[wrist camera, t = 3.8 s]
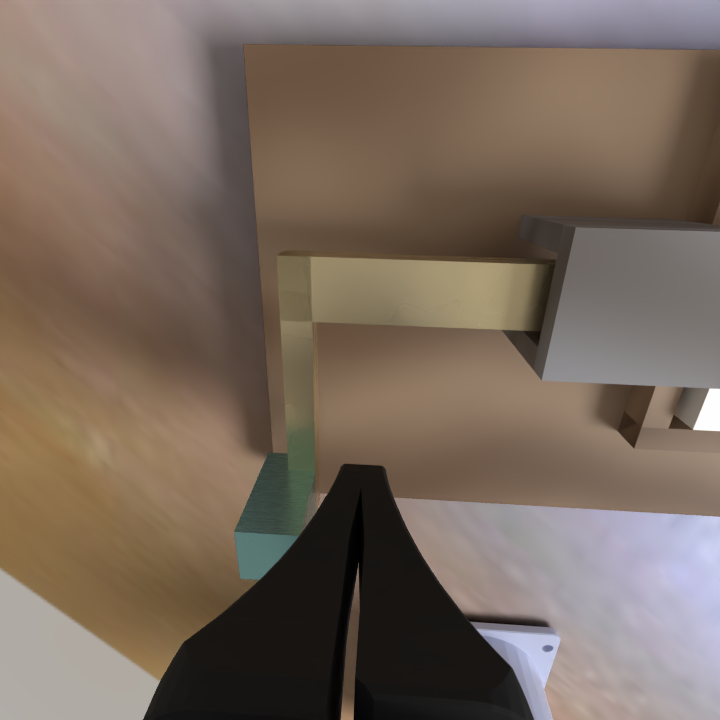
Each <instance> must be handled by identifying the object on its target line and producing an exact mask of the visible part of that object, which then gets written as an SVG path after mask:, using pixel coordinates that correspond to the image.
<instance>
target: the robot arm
mask: <svg viewBox="0 0 720 720" xmlns="http://www.w3.org/2000/svg"><path fill="white" fill-rule="evenodd" d="M358 563H359V594H360V616H359V631H358V645H357V660H356V674H355V699H354V720H553V717H552V714H551V711H550V708H549V704H548V701H547V698H546V695H545V692H544V688H545V685H546V682H547V679H548V676H549V673H550V670H551V667H552V664H553V661H554V658H555V655H556V652H557V649H558V646H559V643H560V637H559V635H558V632H557V631H556V630H555V629H553V628H550V627H538V626H524V625H510V624H496V623H482V622H470V621H469V620H468V619H467V618H466V617H465V616H464V614H463V613H462V612H461V610H460V609H459V608H458V606H457V605H456V604H455V603H454V601H453V600H452V599H451V597H450V596H449V595H448V593H447V592H446V591H445V590H444V588H443V587H442V585H441V584H440V583H439V581H438V580H437V578H436V577H435V575H434V574H433V572H432V571H431V569H430V568H429V566H428V564H427V563H426V561H425V560H424V558H423V556H422V555H421V553H420V551H419V550H418V548H417V546H416V544H415V543H414V541H413V539H412V537H411V535H410V533H409V531H408V529H407V527H406V525H405V523H404V521H403V519H402V516H401V514H400V512H399V509H398V507H397V505H396V502H395V500H394V497H393V494H392V491H391V489H390V485H389V482H388V478H387V474H386V469H385V468H384V467H383V466H380V465H363V464H343V465H342V466H341V467H340V470H339V473H338V475H337V477H336V479H335V481H334V483H333V485H332V487H331V489H330V491H329V492H328V494H327V496H326V497H325V499H324V501H323V502H322V504H321V505H320V507H319V509H318V510H317V512H316V513H315V515H314V516H313V518H312V519H311V520H310V522H309V523H308V525H307V526H306V527H305V529H304V530H303V532H302V533H301V534H300V535H299V537H298V538H297V539H296V540H295V542H294V543H293V544H292V545H291V547H290V548H289V549H288V550H287V551H286V552H285V554H284V555H283V556H282V557H281V558H280V559H279V560H278V561H277V562H276V563H275V564H274V566H273V567H272V568H271V569H270V570H269V571H268V572H267V573H266V574H265V575H264V576H263V577H262V578H261V579H260V580H259V581H258V582H257V583H256V584H255V585H254V586H253V587H252V588H250V589H249V590H248V591H247V592H246V593H245V594H244V595H242V596H241V597H240V598H239V599H238V600H237V601H236V602H235V603H233V604H232V605H231V606H230V607H229V608H228V609H227V610H225V611H224V612H223V613H222V614H220V615H219V616H218V617H217V618H215V619H214V620H213V621H211V622H210V623H209V624H207V625H206V626H205V627H203V628H202V629H201V630H199V631H198V632H197V633H195V634H194V635H193V636H192V637H190V638H189V639H187V640H186V641H185V642H184V643H183V644H182V646H181V647H180V649H179V650H178V652H177V653H176V655H175V657H174V658H173V660H172V662H171V663H170V665H169V667H168V669H167V670H166V672H165V674H164V675H163V677H162V679H161V681H160V683H159V685H158V687H157V689H156V691H155V694H154V696H153V698H152V701H151V703H150V705H149V707H148V710H147V712H146V714H145V717H144V719H143V720H341V707H342V694H343V681H344V668H345V655H346V642H347V634H348V625H349V619H350V613H351V606H352V600H353V594H354V588H355V582H356V575H357V569H358Z"/></svg>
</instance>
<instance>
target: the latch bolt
mask: <svg viewBox="0 0 720 720" xmlns="http://www.w3.org/2000/svg"><path fill="white" fill-rule="evenodd" d="M555 264H556V260H555V259H525V258H496V257H466V256H436V255H407V254H377V253H347V252H318V251H288V250H284V251H283V252H281V253H280V254H278V255H277V272H278V290H279V308H280V326H281V344H282V362H283V380H284V398H285V416H286V434H287V452H288V453H273V452H269V453H268V455H267V457H266V460H265V462H264V464H263V467H262V469H261V471H260V473H259V476H258V478H257V480H256V483H255V485H254V487H253V490H252V492H251V494H250V497H249V499H248V501H247V503H246V506H245V508H244V510H243V513H242V515H241V517H240V520H239V522H238V524H237V526H236V529H235V531H234V535H235V542H236V550H237V558H238V565H239V573H240V579H252V580H260V579H261V578H262V577H263V576H264V575H265V574H266V573H267V572H268V571H269V570H270V569H271V568H272V567H273V566H274V564H275V563H276V562H277V561H278V560H279V559H280V558H281V557H282V556H283V555H284V554H285V552H286V551H287V550H288V549H289V548H290V547H291V545H292V544H293V543H294V542H295V540H296V539H297V538H298V537H299V535H300V534H301V533H302V532H303V530H304V529H305V527H306V526H307V525H308V523H309V522H310V520H311V519H312V518H313V516H314V515H315V513H316V512H317V509H318V504H319V499H320V455H319V400H318V344H317V322H324V323H348V324H372V325H397V326H421V327H445V328H470V329H494V330H518V331H541V330H542V326H543V321H544V316H545V311H546V307H547V302H548V297H549V293H550V288H551V283H552V278H553V274H554V269H555Z"/></svg>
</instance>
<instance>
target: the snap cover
mask: <svg viewBox="0 0 720 720" xmlns="http://www.w3.org/2000/svg"><path fill="white" fill-rule="evenodd" d="M674 415H675V416H676V417H678V418H679V419H680V420H681V421H683V422H684V423H685V424H686V425H688V426H689V427H690V428H691V429H693V430H706V431H720V389H710V388H688V387H684V389H683V391H682V394H681V397H680V399H679V402H678V404H677V407H676V410H675V412H674Z"/></svg>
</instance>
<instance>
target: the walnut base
mask: <svg viewBox="0 0 720 720" xmlns="http://www.w3.org/2000/svg"><path fill="white" fill-rule="evenodd" d="M243 47H244V61H245V75H246V88H247V102H248V116H249V130H250V144H251V157H252V171H253V185H254V199H255V213H256V226H257V240H258V254H259V268H260V282H261V295H262V309H263V323H264V337H265V351H266V364H267V378H268V392H269V406H270V420H271V433H272V447H273V453H288V452H287V434H286V416H285V398H284V380H283V362H282V344H281V326H280V308H279V290H278V272H277V255H278V254H280V253H281V252H283V251H284V250H288V251H318V252H347V253H377V254H407V255H436V256H466V257H496V258H525V259H555V260H556V264H555V269H554V274H553V278H552V283H551V288H550V293H549V297H548V302H547V307H546V311H545V316H544V321H543V326H542V330H541V331H518V330H494V329H470V328H445V327H421V326H397V325H372V324H348V323H324V322H317V344H318V400H319V455H320V493H328V492H329V491H330V489H331V487H332V485H333V483H334V481H335V479H336V477H337V475H338V473H339V470H340V467H341V466H342V465H343V464H363V465H380V466H383V467H384V468H385V469H386V474H387V478H388V482H389V485H390V489H391V491H392V494H393V497H396V498H413V499H430V500H447V501H464V502H481V503H498V504H515V505H532V506H549V507H566V508H583V509H600V510H617V511H634V512H651V513H668V514H685V515H702V516H719V517H720V431H706V430H693V429H691V428H690V427H689V426H688V425H686V424H685V423H684V422H683V421H681V420H680V419H679V418H678V417H676V416H675V415H674V412H675V410H676V407H677V404H678V402H679V399H680V397H681V394H682V391H683V389H684V387H688V388H710V389H720V50H682V49H599V48H517V47H434V46H352V45H269V44H243Z"/></svg>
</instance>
